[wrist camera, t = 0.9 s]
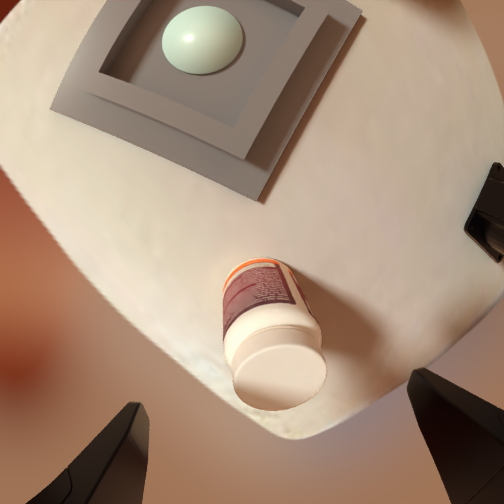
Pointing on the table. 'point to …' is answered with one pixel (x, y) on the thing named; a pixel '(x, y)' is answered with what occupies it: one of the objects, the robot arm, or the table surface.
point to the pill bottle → (271, 336)
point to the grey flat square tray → (205, 79)
